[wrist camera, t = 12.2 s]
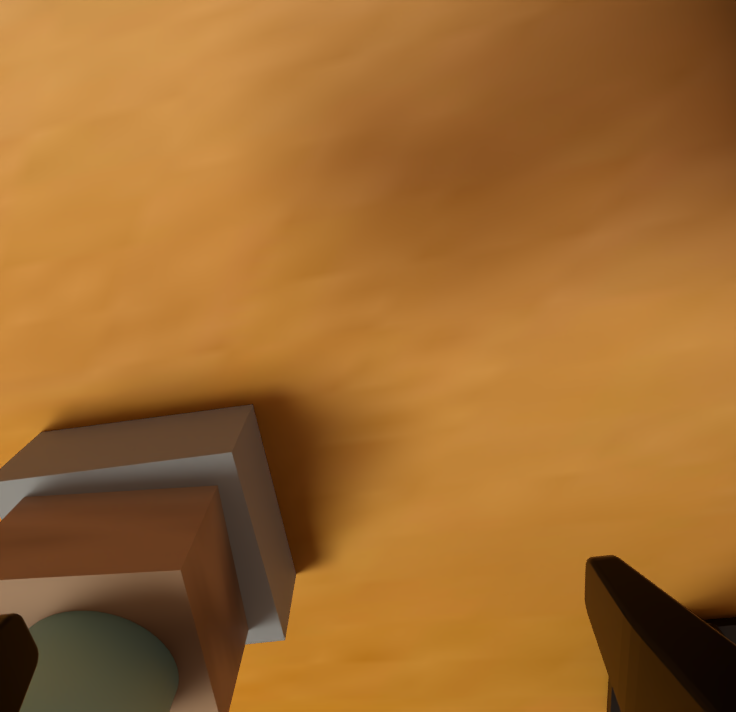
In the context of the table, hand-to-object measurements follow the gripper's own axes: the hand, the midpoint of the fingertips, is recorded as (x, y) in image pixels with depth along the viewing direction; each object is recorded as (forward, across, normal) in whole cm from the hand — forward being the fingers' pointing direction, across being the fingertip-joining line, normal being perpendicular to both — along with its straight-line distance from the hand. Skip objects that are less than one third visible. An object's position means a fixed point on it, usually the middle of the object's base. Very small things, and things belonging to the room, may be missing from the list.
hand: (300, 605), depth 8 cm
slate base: (+14, +8, +7) cm, 17 cm away
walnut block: (+10, +8, +7) cm, 15 cm away
